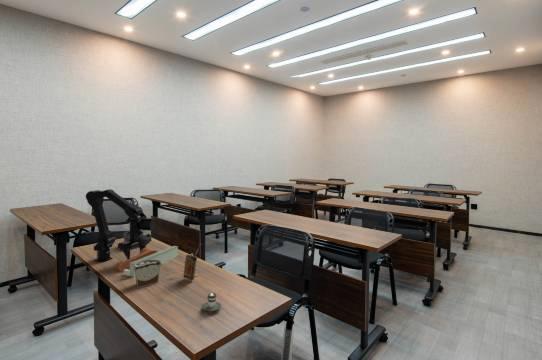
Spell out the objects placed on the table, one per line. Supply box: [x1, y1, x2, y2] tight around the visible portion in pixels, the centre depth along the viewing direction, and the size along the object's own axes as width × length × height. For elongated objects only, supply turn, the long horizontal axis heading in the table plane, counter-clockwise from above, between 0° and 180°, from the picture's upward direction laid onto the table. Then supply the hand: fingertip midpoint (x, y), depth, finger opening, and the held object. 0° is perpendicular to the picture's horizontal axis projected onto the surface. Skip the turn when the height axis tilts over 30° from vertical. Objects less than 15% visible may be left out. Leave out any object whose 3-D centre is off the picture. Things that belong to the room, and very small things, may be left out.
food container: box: [133, 259, 162, 289], centre depth 133 cm, size 12×6×10 cm, turn 135°
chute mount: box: [123, 245, 179, 278], centre depth 156 cm, size 7×32×7 cm, turn 159°
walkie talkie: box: [166, 243, 202, 281], centre depth 139 cm, size 13×13×18 cm
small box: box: [123, 230, 139, 251], centre depth 185 cm, size 11×6×10 cm, turn 52°
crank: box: [116, 246, 158, 273], centre depth 156 cm, size 20×8×8 cm, turn 137°
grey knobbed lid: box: [200, 292, 222, 312], centre depth 114 cm, size 12×12×5 cm
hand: (135, 257), depth 160 cm, fingers open, 9 cm apart
